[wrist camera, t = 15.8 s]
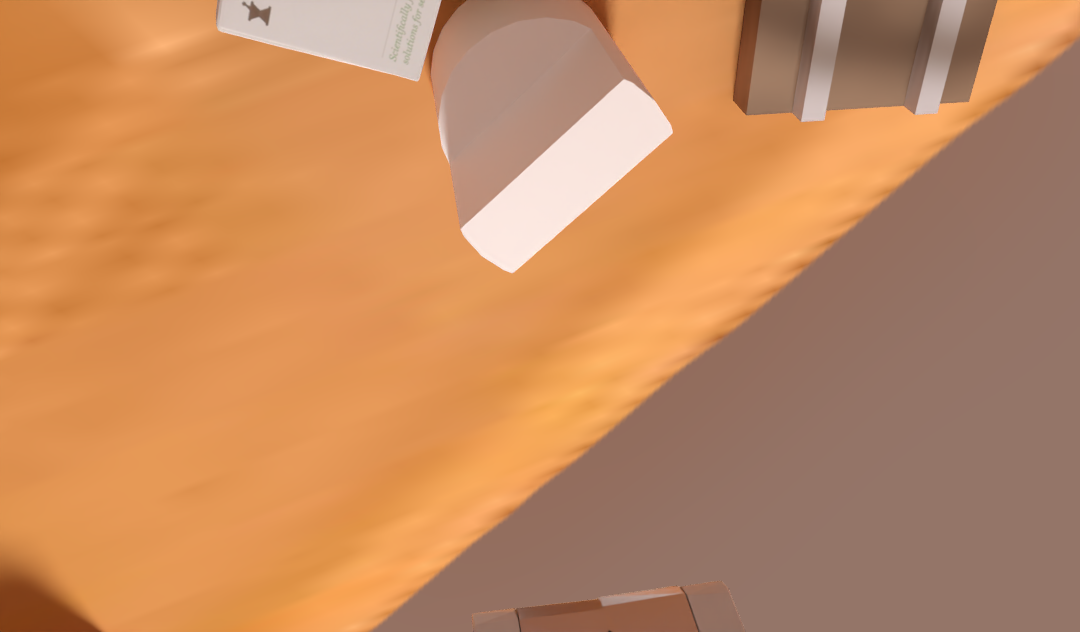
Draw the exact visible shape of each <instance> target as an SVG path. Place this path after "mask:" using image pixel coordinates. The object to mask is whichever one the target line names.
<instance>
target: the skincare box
mask: <svg viewBox="0 0 1080 632" xmlns="http://www.w3.org/2000/svg"><path fill="white" fill-rule="evenodd" d="M440 4H441V0H218V1H217V9H216V25H217V28H218V30H219V31H221V32H225V33H229V34H232V35H236V36H240V37H244V38H248V39H252V40H256V41H259V42H263V43H267V44H271V45H275V46H279V47H283V48H287V49H291V50H296V51H300V52H304V53H308V54H312V55H316V56H320V57H324V58H328V59H332V60H336V61H340V62H344V63H348V64H352V65H356V66H360V67H364V68H368V69H372V70H376V71H380V72H384V73H388V74H392V75H396V76H400V77H403V78H407V79H411V80H414V81H418V80H419V78H420V75H421V71H422V68H423V64H424V61H425V57H426V54H427V50H428V47H429V43H430V40H431V36H432V32H433V29H434V25H435V22H436V18H437V14H438V11H439V7H440Z"/></svg>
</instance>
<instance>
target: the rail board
mask: <svg viewBox="0 0 1080 632" xmlns="http://www.w3.org/2000/svg"><path fill="white" fill-rule="evenodd" d="M996 3H997V0H746V4H745V12H744V20H743V28H742V36H741V43H740V51H739V59H738V67H737V75H736V83H735V91H734V99H733V101H734V102H735V103H736V104H737V105H738V107H739V108H740V109H741V110H742V111H743V112H744V113H745V114H746V115H759V114H776V113H793V114H794V115H795V116H796V117H797V118H798V119H799V120H800V121H801V122H805V121H821V120H824V119H825V113H826V110H842V109H858V108H874V107H891V106H905V107H906V108H907V109H908V110H910V111H911V112H912V113H913V114H915V115H918V114H934V113H937V112H938V109H939V105H940V103H957V102H969V99H970V96H971V92H972V88H973V85H974V81H975V78H976V74H977V71H978V67H979V63H980V60H981V56H982V53H983V49H984V46H985V42H986V38H987V35H988V31H989V28H990V24H991V21H992V17H993V14H994V10H995V6H996Z"/></svg>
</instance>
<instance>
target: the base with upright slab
mask: <svg viewBox="0 0 1080 632" xmlns="http://www.w3.org/2000/svg"><path fill="white" fill-rule="evenodd" d="M431 80H432V86H433V93H434V99H435V106H436V112H437V118H438V125H439V131H440V137H441V143H442V149H443V151H444V153H445V155H446V157H447V159H448V161H449V164H450V169H451V175H452V181H453V187H454V193H455V199H456V205H457V211H458V217H459V223H460V229H461V231H462V233H463V235H464V237H465V238H466V239H467V240H468V241H469V242H470V244H471V245H472V246H473V247H474V248H475V249H476V250H477V251H478V252H479V253H480V255H481V256H482V257H484V258H486V259H487V260H489V261H490V262H492V263H494V264H495V265H497V266H498V267H500V268H501V269H503V270H505V271H508V272H511V273H514V272H515V271H516V270H517V269H518V268H519V267H521V266H522V265H523V264H524V263H525V262H526V261H527V260H529V259H530V258H531V257H532V256H533V255H534V254H535V253H537V252H538V251H539V250H540V249H541V248H542V247H543V246H545V245H546V244H547V243H548V242H549V241H550V240H551V239H553V238H554V237H555V236H556V235H557V234H558V233H559V232H561V231H562V230H563V229H564V228H565V227H566V226H567V225H569V224H570V223H571V222H572V221H573V220H574V219H575V218H576V217H578V216H579V215H580V214H581V213H582V212H583V211H584V210H586V209H587V208H588V207H589V206H590V205H591V204H592V203H594V202H595V201H596V200H597V199H598V198H599V197H600V196H602V195H603V194H604V193H605V192H606V191H607V190H608V189H610V188H611V187H612V186H613V185H614V184H615V183H616V182H618V181H619V180H620V179H621V178H622V177H623V176H624V175H626V174H627V173H628V172H629V171H630V170H631V169H632V168H634V167H635V166H636V165H637V164H638V163H639V162H640V161H642V160H643V159H644V158H645V157H646V156H647V155H648V154H649V153H651V152H652V151H653V150H654V149H655V148H656V147H657V146H659V145H660V144H661V143H662V142H663V141H664V140H665V139H667V138H668V137H669V136H670V135H671V134H672V133H673V131H672V128H671V124H670V123H669V121H668V120H667V118H666V117H665V115H664V114H663V112H662V111H661V109H660V108H659V106H658V105H657V103H656V102H655V100H654V99H653V97H652V96H651V95H650V93H649V92H648V90H647V89H646V87H645V86H644V84H643V83H642V81H641V80H640V79H639V77H638V76H637V74H636V73H635V71H634V70H633V68H632V67H631V66H630V64H629V63H628V61H627V60H626V58H625V57H624V55H623V54H622V52H621V51H620V50H619V48H618V47H617V45H616V44H615V42H614V41H613V39H612V38H611V36H610V35H609V34H608V32H607V31H606V29H605V28H604V26H603V25H602V23H601V22H600V21H599V19H598V18H597V16H596V15H595V13H594V12H593V10H592V9H591V8H590V7H589V6H588V5H587V4H585V3H584V2H583V1H582V0H467V1H466V2H464V3H463V4H462V5H461V6H459V7H458V8H457V9H456V11H455V12H454V13H453V15H452V16H451V17H450V19H449V20H448V21H447V23H446V24H445V25H444V27H443V28H442V30H441V33H440V35H439V38H438V40H437V43H436V45H435V48H434V50H433V58H432V67H431Z"/></svg>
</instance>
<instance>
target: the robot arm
mask: <svg viewBox="0 0 1080 632" xmlns="http://www.w3.org/2000/svg"><path fill="white" fill-rule="evenodd" d="M472 624H473V632H746V631H745V628H744V626H743V623H742V621H741V618H740V616H739V613H738V611H737V608H736V606H735V604H734V601H733V599H732V596H731V594H730V591H729V589H728V588H727V586H726V585H725V584H724V583H723V582H722V581H714V582H708V583H701V584H695V585H688V586H682V587H678V586H672V587H665V588H658V589H652V590H646V591H638V592H632V593H625V594H618V595H612V596H606V597H599V598H597V599H595V600H587V601H578V602H569V603H561V604H551V605H543V606H534V607H525V608H517V609H516V610H515V608H513V609H505V610H498V611H490V612H483V613H475V614H472Z"/></svg>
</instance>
